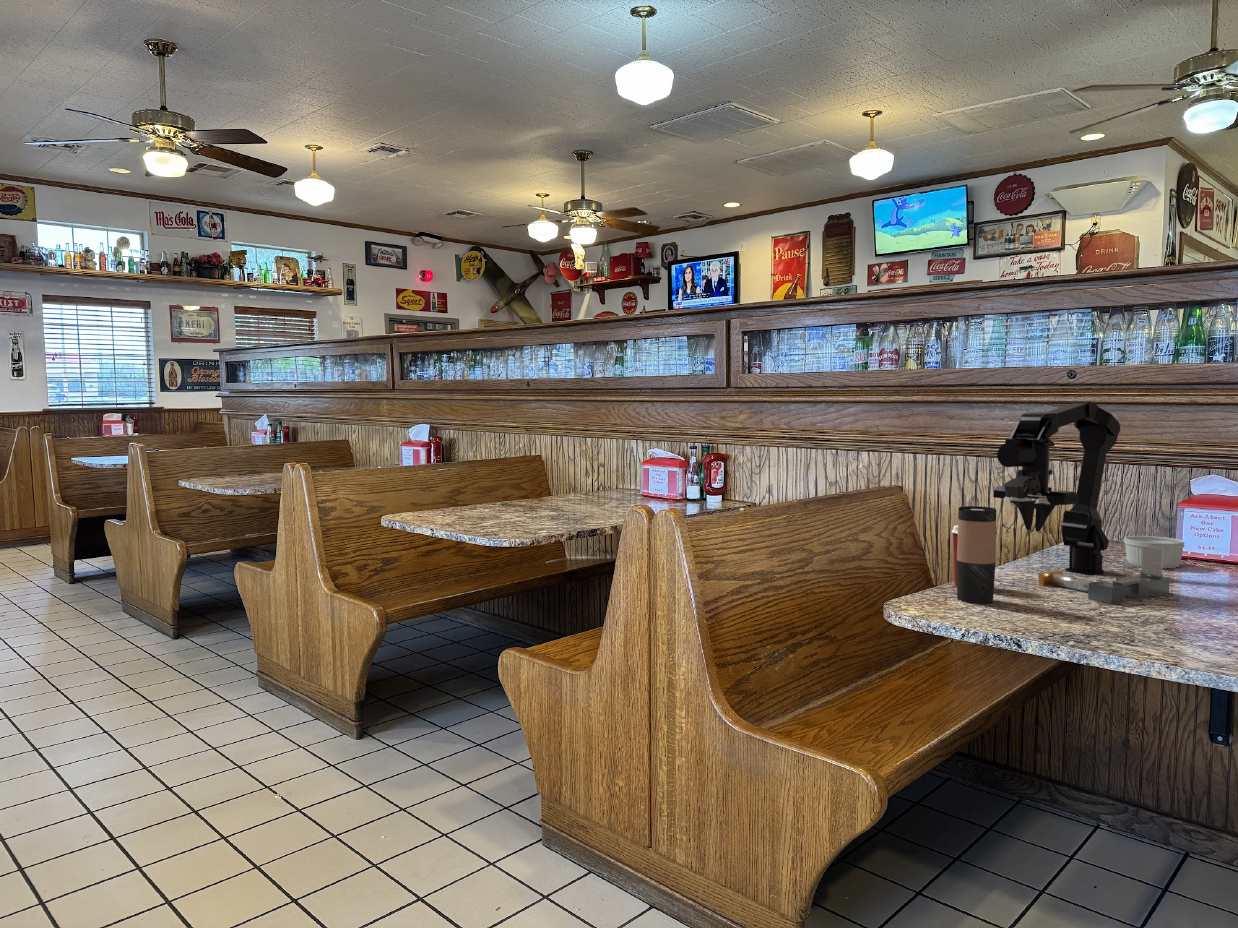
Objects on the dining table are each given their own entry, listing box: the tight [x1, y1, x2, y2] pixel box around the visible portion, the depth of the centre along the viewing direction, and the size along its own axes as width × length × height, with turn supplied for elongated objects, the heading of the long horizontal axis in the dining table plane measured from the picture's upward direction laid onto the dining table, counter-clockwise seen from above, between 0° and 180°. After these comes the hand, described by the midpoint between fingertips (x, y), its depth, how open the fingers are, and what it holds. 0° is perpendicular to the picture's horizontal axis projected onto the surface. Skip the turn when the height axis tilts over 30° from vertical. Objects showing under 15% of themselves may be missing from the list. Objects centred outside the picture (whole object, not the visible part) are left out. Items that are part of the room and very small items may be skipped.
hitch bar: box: [1087, 574, 1171, 605], centre depth 177 cm, size 5×21×4 cm, turn 117°
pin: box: [1038, 569, 1094, 593], centre depth 186 cm, size 10×7×3 cm
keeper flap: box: [1139, 547, 1164, 578], centre depth 181 cm, size 4×1×6 cm, turn 27°
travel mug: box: [956, 505, 997, 605], centre depth 174 cm, size 8×8×20 cm
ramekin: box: [1123, 535, 1185, 570], centre depth 213 cm, size 13×13×7 cm
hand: (1033, 530), depth 194 cm, fingers open, 2 cm apart
